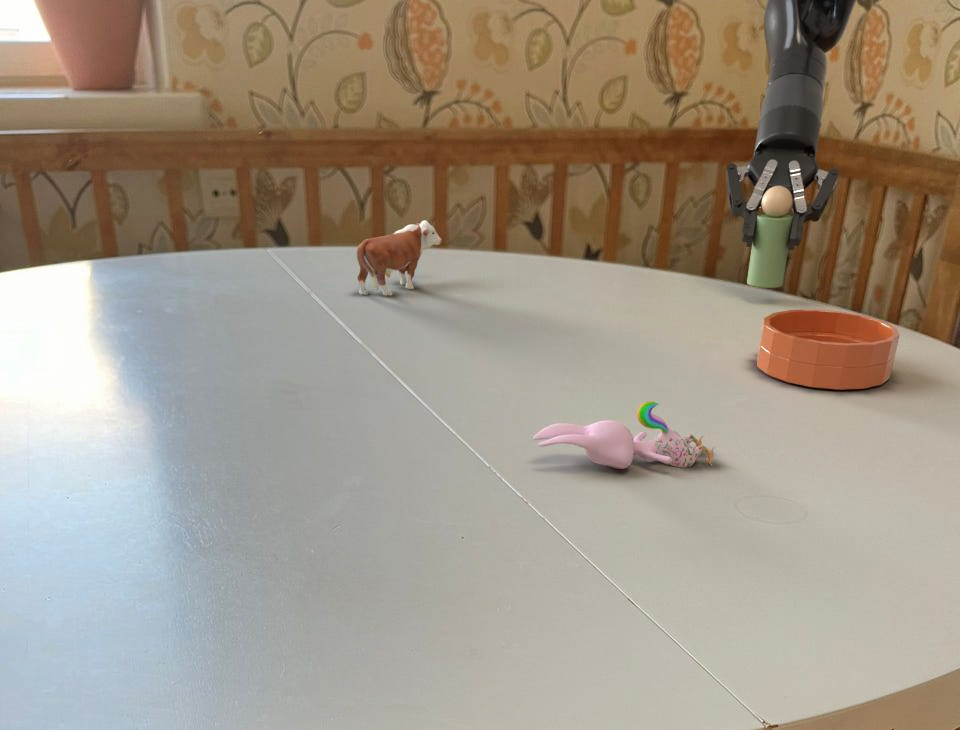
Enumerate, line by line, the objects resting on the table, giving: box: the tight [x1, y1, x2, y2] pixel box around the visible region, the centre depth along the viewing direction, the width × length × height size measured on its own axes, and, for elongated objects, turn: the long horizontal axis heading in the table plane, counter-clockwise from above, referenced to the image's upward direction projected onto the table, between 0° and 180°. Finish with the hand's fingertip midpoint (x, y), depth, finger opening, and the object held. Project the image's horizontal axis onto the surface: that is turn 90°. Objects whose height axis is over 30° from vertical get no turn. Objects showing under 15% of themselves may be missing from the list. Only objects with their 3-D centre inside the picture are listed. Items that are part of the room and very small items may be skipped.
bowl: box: [756, 308, 901, 391], centre depth 107 cm, size 13×13×5 cm
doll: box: [746, 186, 793, 289], centre depth 128 cm, size 4×4×11 cm
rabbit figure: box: [532, 400, 716, 470], centre depth 84 cm, size 6×6×15 cm
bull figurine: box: [356, 219, 443, 297], centre depth 133 cm, size 4×13×8 cm, turn 137°
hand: (770, 244), depth 127 cm, fingers closed on doll, 4 cm apart
